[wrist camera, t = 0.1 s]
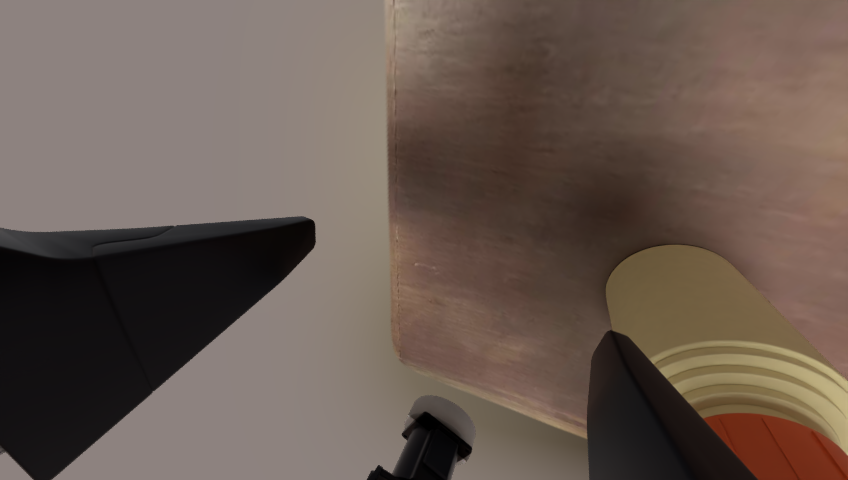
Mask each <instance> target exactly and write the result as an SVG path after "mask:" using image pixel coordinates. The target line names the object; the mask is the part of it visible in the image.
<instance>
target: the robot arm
mask: <svg viewBox="0 0 848 480" xmlns="http://www.w3.org/2000/svg"><path fill="white" fill-rule="evenodd" d="M315 238H316V237H315V223H314V221H313V220H311V219H309V218H306V217H302V216H301V217H286V218H274V219H261V220H260V219H259V220H245V221H231V222H220V223H219V222H218V223H204V224H191V225H177V226H162V227H147V228H131V229H110V230H85V231H61V232H25V231H24V232H23V231H16V230H9V229H4V228H0V455H1V454H3V453H4V452H6V453H7V454H8V455H9V456H10V457H11V458H12V459H13V460H14V461H15V462H16V463H17V464H18V465H19V466H20V467H21V468H22V469H23V470H24V471H25V472H26V473H27V474H28V475H29V476H30V477H31V478H32V479H33V480H52V479H53V478H54V477H55V476H57V475H58V474H59V473H60V472H61V471H62V470H64V469H65V468H66V467H67V466H68V465H69V464H71V463H72V462H73V461H74V460H75V459H76V458H78V457H79V456H80V455H81V454H82V453H83V452H84V451H86V450H87V449H88V448H89V447H90V446H91V445H93V444H94V443H95V442H96V441H97V440H98V439H100V438H101V437H102V436H103V435H104V434H105V433H107V432H108V431H109V430H110V429H111V428H112V427H113V426H115V425H116V424H117V423H118V422H119V421H120V420H122V419H123V418H124V417H125V416H126V415H127V414H129V413H130V412H131V411H132V410H133V409H134V408H136V407H137V406H138V405H139V404H140V403H141V402H143V401H144V400H145V399H146V398H147V397H148V396H149V395H150V394H152V392H153V391H155V390H156V389H157V388H158V387H160V386H161V385H162V384H163V383H164V382H165V381H166V380H168V379H169V378H170V377H171V376H172V375H173V374H175V373H176V372H177V371H178V370H179V369H180V368H182V367H183V366H184V365H185V364H186V363H187V362H189V361H190V360H191V359H192V358H193V357H194V356H196V354H198V353H199V352H200V351H201V350H202V349H204V348H205V347H206V346H207V345H208V344H209V343H211V342H212V341H213V340H214V339H215V338H216V337H218V336H219V335H220V334H221V333H222V332H223V331H225V330H226V329H227V328H228V327H229V326H230V325H232V324H233V323H234V322H235V321H236V320H237V319H238V318H240V316H242V315H243V314H244V313H245V312H247V311H248V310H249V309H250V308H251V307H252V306H253V305H255V304H256V303H257V302H258V301H259V300H261V299H262V298H263V297H264V296H265V295H266V294H268V293H269V292H270V291H271V290H272V289H273V288H275V287H276V286H277V285H278V284H279V283H280V282H281V281H282V280H283V279H284V278H285V277H286V276H287V275H288V274H289V273H290V272H291V271H292V270H293V269H294V268H295V267H296V266H297V265H298V264H299V263H300V262H301V261H302V260H303V259H304V258H305V257H306V256H307V254H308V253H309V252H310V251H311V250H312V249H313V248H314V246H315V242H316V239H315ZM402 436H403V437H404V438H405V439H406V440H407V443H406V445H405V447H404V449H403V451H402V453H401V456H400V458H399V460H398V462H397V464H396V466H395V468H394V471H393V473H392V474H391V473H389V472H388V471H386V470H384V469H383V467H381V466H380V465H378V466H377V468H376V470H375V471H371V473H370V474H369V476H368V478H367V480H451V478H452V475H453V471H454V468H455V465H456V463H457V462H459V461H461V460H462V459H464V458H465V457H467V456H468V455H470V454H471V453H472V447H471V446H470V445H469V444H468V443H466V442H465V441H464V440H462V439H461V438H460V437H459V436H457V435H456V434H455V433H454V432H452V431H451V430H450V429H449V428H447V427H446V426H445V425H444V424H442V423H441V422H440V421H438V420H437V419H436V418H435V417H433V416H432V415H431V414H430V413H428V412H425V411H424V412H423V413H422V414H421V415H420V416H419V417H417V418H416V419H415V420H414V421H413V422H412V423H411V424H410V425H409V426H408V427H407V428H406V429H405V430H404V431H403V433H402ZM587 437H588V457H589V458H588V459H589V480H758V479H757V478H756V477H755V475H754V474H753V473H752V472H751V471H750V470H749V469H748V468H747V467H746V466H745V464H744V463H743V462H742V461H741V460H740V459H739V458H738V457H737V456H736V454H735V453H734V452H733V451H732V450H731V449H730V448H729V447H728V446H727V445H726V443H725V442H724V441H723V440H722V439H721V438H720V437H719V436H718V435H717V434H716V432H715V431H714V430H713V429H712V428H711V427H710V426H709V425H708V424H707V423H706V421H705V420H704V419H703V418H702V417H701V416H700V415H699V414H698V413H697V412H696V410H695V409H694V408H693V407H692V406H691V405H690V404H689V403H688V402H687V401H686V399H685V398H684V397H683V396H682V395H681V394H680V393H679V392H678V391H677V389H676V388H675V387H674V386H673V385H672V384H671V383H670V382H669V381H668V380H667V378H666V377H665V376H664V375H663V374H662V373H661V372H660V371H659V370H658V369H657V367H656V366H655V365H654V364H653V363H652V362H651V361H650V360H649V359H648V358H647V356H646V355H645V354H644V353H643V352H642V351H641V350H640V349H639V348H638V347H637V345H636V344H635V343H634V342H633V341H632V340H631V339H630V338H629V337H628V336H626V335H624V334H621V333H618V332H615V331H613V330H610V331H608V332H607V333H606V334H605V335H604V337H603V338H602V340H601V342H600V343H599V345H598V347H597V348H596V350H595V351H594V353H593V356H592V360H591V371H590V383H589V395H588V407H587Z"/></svg>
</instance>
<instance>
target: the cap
mask: <svg viewBox="0 0 848 480" xmlns="http://www.w3.org/2000/svg"><path fill="white" fill-rule="evenodd" d="M703 419H704V420H705V421H706V423H707V424H708V425H709V426H710V427H711V428H712V429H713V430H714V431H715V432H716V434H717V435H718V436H719V437H720V438H721V439H722V440H723V441H724V442H725V443H726V445H727V446H728V447H729V448H730V449H731V450H732V451H733V452H734V453H735V454H736V456H737V457H738V458H739V459H740V460H741V461H742V462H743V463H744V464H745V466H746V467H747V468H748V469H749V470H750V471H751V472H752V473H753V474H754V475H755V477H756V478H757V479H758V480H848V455H847V454H846V453H845V452H844V451H843V450H842V449H841V448H840V447H839V446H838V445H837V444H836V443H834V442H833V441H832V440H830V439H829V438H827V437H826V436H824V435H823V434H821V433H819V432H818V431H815V430H813V429H811V428H809V427H807V426H805V425H802V424H799V423H797V422H794V421H791V420H787V419H784V418H779V417H775V416H770V415H763V414H755V413H726V414H718V415H714V416H709V417H706V418H703Z"/></svg>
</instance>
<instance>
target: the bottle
mask: <svg viewBox="0 0 848 480" xmlns="http://www.w3.org/2000/svg"><path fill="white" fill-rule="evenodd" d="M606 300H607V305H608V310H609V316H610V321H611V326H612V330H613V331H615V332H618V333H621V334H624V335H626V336H628V337H629V338H630V339H631V340H632V341H633V342H634V343H635V344H636V345H637V347H638V348H639V349H640V350H641V351H642V352H643V353H644V354H645V355H646V356H647V358H648V359H649V360H650V361H651V362H652V363H653V364H654V365H655V366H656V367H657V369H658V370H659V371H660V372H661V373H662V374H663V375H664V376H665V377H666V378H667V380H668V381H669V382H670V383H671V384H672V385H673V386H674V387H675V388H676V389H677V391H678V392H679V393H680V394H681V395H682V396H683V397H684V398H685V399H686V401H687V402H688V403H689V404H690V405H691V406H692V407H693V408H694V409H695V410H696V412H697V413H698V414H699V415H700V416H701V417H702V418H706V417H709V416H714V415H718V414H726V413H755V414H763V415H770V416H775V417H779V418H784V419H787V420H791V421H794V422H797V423H799V424H802V425H805V426H807V427H809V428H811V429H813V430H815V431H818V432H819V433H821V434H823V435H824V436H826V437H827V438H829V439H830V440H832V441H833V442H834V443H836V444H837V445H838V446H839V447H840V448H841V449H842V450H843V451H844V452H845V453H846V454H847V455H848V381H847V380H846V379H845V378H844V377H843V376H842V375H841V374H840V373H839V372H838V371H837V370H836V369H835V368H834V367H833V366H832V364H831V363H830V362H829V361H828V360H827V359H826V358H825V357H824V356H823V355H822V354H821V353H820V352H819V351H818V350H817V349H816V348H815V347H814V346H813V345H812V344H811V343H810V342H809V341H808V340H807V339H806V338H805V337H804V336H803V335H802V334H801V333H800V332H799V331H798V330H797V329H796V328H795V327H794V326H793V325H792V324H791V323H790V322H789V321H788V320H787V319H786V318H785V317H784V316H783V315H782V314H781V313H780V312H779V311H778V310H777V309H776V308H775V307H774V306H773V305H772V304H771V303H770V302H769V301H768V300H767V299H766V298H765V297H764V296H763V295H762V294H761V293H760V292H759V291H758V290H757V289H756V288H755V287H754V286H753V285H752V284H751V283H750V282H749V281H748V280H747V279H746V278H745V277H744V276H743V275H742V274H741V273H740V272H739V271H738V270H737V269H736V268H735V267H734V266H733V265H732V264H731V263H730V262H728V261H727V260H726V259H724V258H723V257H721V256H719V255H718V254H716V253H714V252H711V251H709V250H706V249H703V248H699V247H694V246H688V245H663V246H657V247H652V248H648V249H645V250H642V251H640V252H637V253H635V254H633V255H631V256H630V257H628V258H626V259H625V260H624V261H622V262H621V263H620V264H619V265H618V266H617V267H616V268H615V269H614V271H613V272H612V273H611V275H610V277H609V279H608V281H607V285H606Z"/></svg>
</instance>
